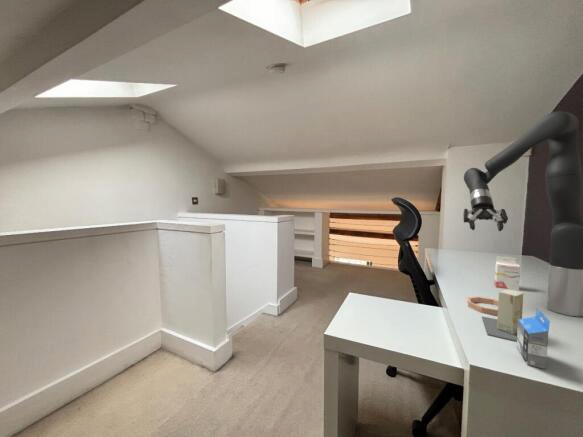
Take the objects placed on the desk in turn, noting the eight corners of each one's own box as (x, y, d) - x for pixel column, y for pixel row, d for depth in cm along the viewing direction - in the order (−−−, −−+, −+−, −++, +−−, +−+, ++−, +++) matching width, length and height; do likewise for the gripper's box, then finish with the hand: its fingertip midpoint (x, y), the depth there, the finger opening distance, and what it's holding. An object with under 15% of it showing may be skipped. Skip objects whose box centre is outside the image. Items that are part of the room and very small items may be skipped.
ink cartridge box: (495, 287, 117) (497, 257, 117) (494, 284, 122) (495, 255, 121) (519, 290, 113) (521, 259, 112) (516, 287, 117) (518, 257, 116)
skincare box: (513, 335, 74) (515, 296, 73) (496, 328, 77) (498, 291, 77) (522, 329, 77) (524, 292, 76) (505, 324, 81) (506, 288, 80)
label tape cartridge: (515, 347, 68) (517, 304, 68) (534, 351, 66) (536, 307, 66) (526, 365, 61) (528, 317, 60) (547, 370, 59) (550, 321, 58)
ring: (506, 306, 96) (506, 301, 96) (513, 318, 85) (514, 313, 85) (466, 299, 103) (466, 294, 103) (469, 310, 92) (469, 305, 92)
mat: (527, 326, 80) (527, 325, 80) (541, 347, 68) (541, 346, 68) (481, 317, 86) (481, 316, 86) (487, 335, 74) (487, 333, 74)
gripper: (462, 195, 107) (466, 222, 97) (504, 194, 100) (512, 223, 91) (460, 207, 112) (463, 234, 102) (499, 207, 105) (507, 236, 96)
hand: (486, 229), depth 96 cm, fingers open, 8 cm apart
